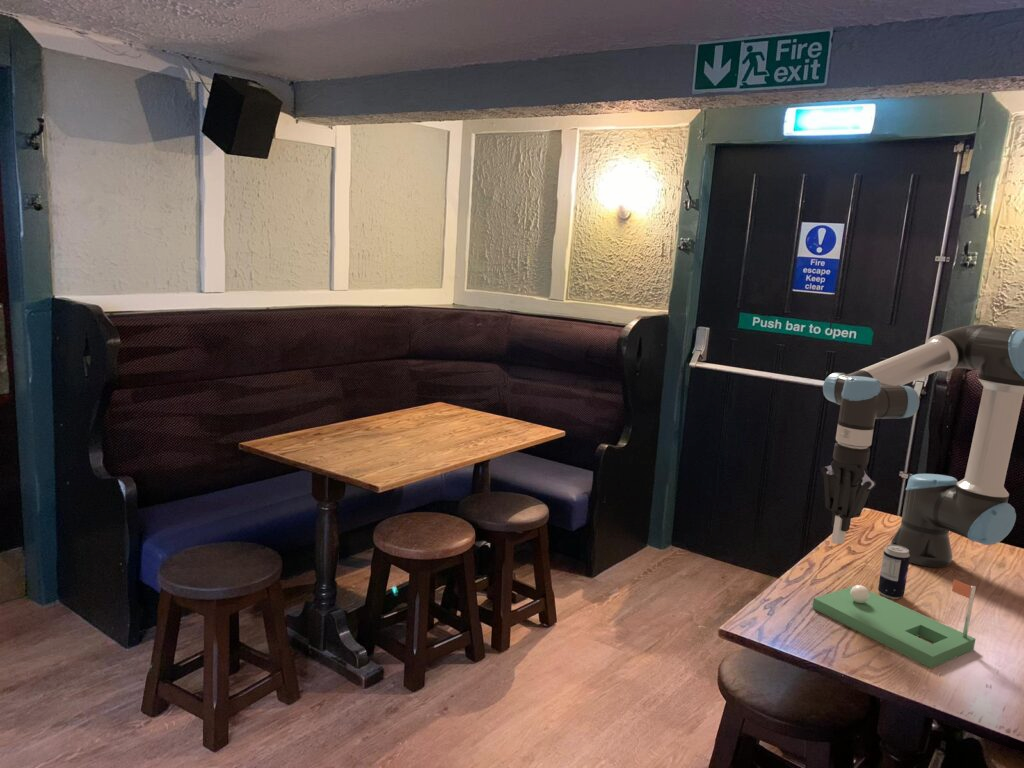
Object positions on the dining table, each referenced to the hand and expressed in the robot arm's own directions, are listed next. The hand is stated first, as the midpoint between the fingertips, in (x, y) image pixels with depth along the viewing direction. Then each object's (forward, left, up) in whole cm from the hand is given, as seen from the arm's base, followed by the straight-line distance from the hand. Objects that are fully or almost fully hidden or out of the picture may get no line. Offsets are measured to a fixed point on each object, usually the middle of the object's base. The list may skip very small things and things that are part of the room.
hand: (837, 542), depth 181 cm
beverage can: (-16, +5, -15) cm, 22 cm away
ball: (0, +7, -12) cm, 14 cm away
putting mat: (0, +15, -14) cm, 21 cm away
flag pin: (-7, +26, -14) cm, 30 cm away
